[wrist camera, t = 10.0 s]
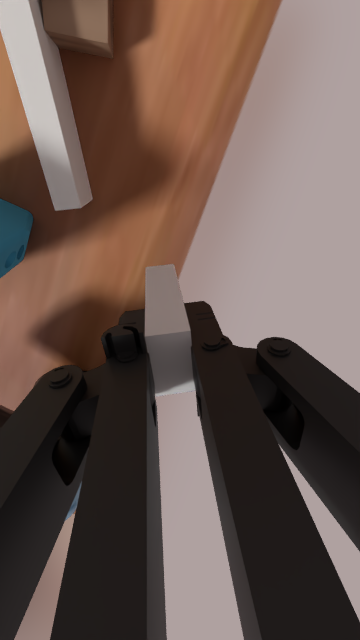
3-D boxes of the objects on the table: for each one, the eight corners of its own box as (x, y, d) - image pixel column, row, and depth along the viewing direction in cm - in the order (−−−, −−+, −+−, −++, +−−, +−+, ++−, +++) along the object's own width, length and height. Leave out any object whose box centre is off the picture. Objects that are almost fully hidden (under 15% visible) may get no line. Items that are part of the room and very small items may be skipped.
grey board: (92, 199, 39) (80, 208, 32) (71, 201, 38) (55, 210, 32) (38, -38, 27) (2, -104, 20) (8, -36, 27) (-39, -102, 20)
